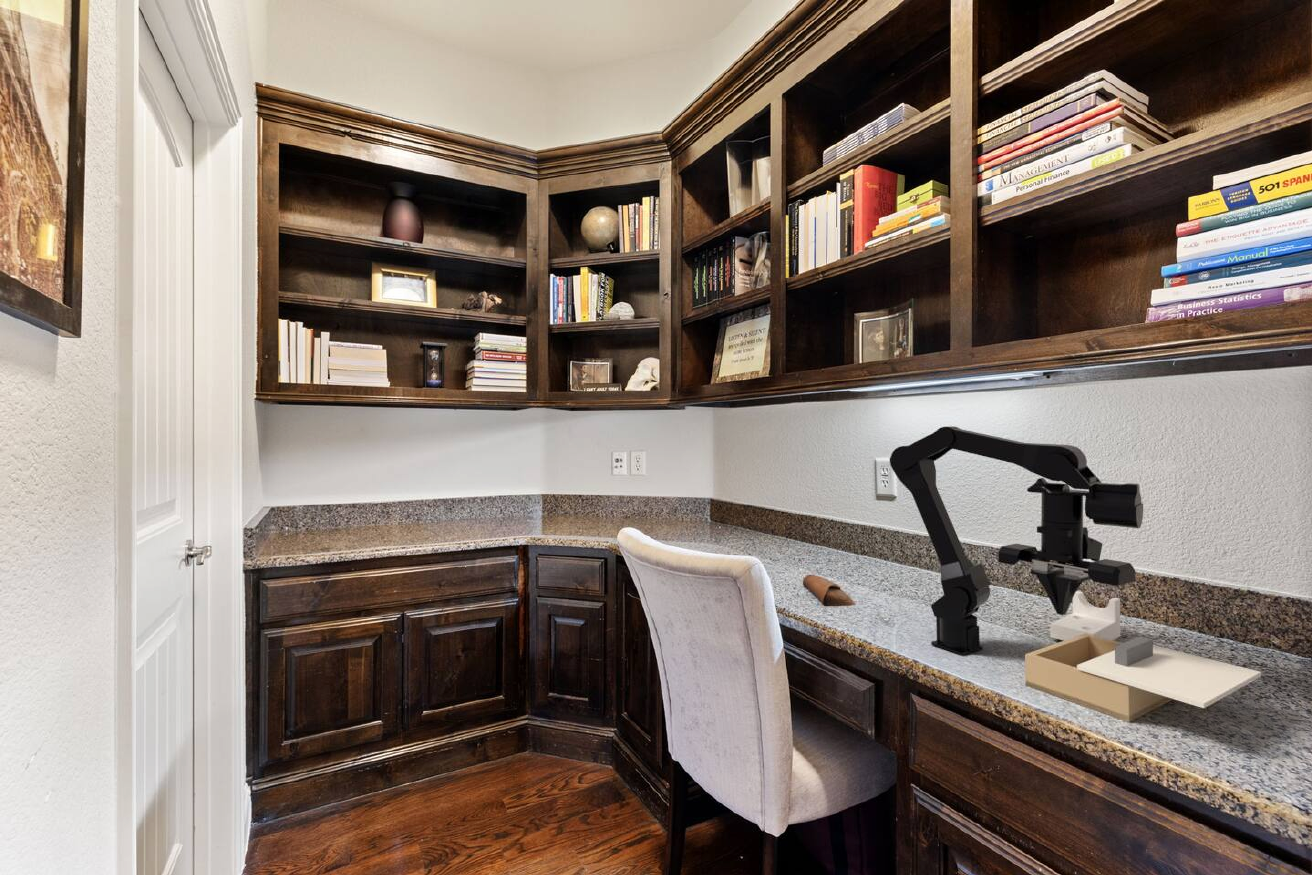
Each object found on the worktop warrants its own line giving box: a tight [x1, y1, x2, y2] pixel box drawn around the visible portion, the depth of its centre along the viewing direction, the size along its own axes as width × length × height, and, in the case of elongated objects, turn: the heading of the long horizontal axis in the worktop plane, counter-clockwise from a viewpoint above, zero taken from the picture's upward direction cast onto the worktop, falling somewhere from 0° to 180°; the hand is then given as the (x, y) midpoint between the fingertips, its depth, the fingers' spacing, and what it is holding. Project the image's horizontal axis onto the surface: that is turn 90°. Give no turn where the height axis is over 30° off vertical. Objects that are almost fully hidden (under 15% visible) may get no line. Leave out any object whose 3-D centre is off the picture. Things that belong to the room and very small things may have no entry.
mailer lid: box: [1077, 636, 1262, 709], centre depth 86 cm, size 15×19×3 cm
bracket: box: [1049, 590, 1121, 641], centre depth 115 cm, size 13×7×8 cm, turn 125°
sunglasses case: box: [802, 574, 857, 607], centre depth 148 cm, size 18×7×7 cm
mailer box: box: [1024, 634, 1174, 723], centre depth 94 cm, size 14×18×5 cm
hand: (1061, 614), depth 100 cm, fingers closed
